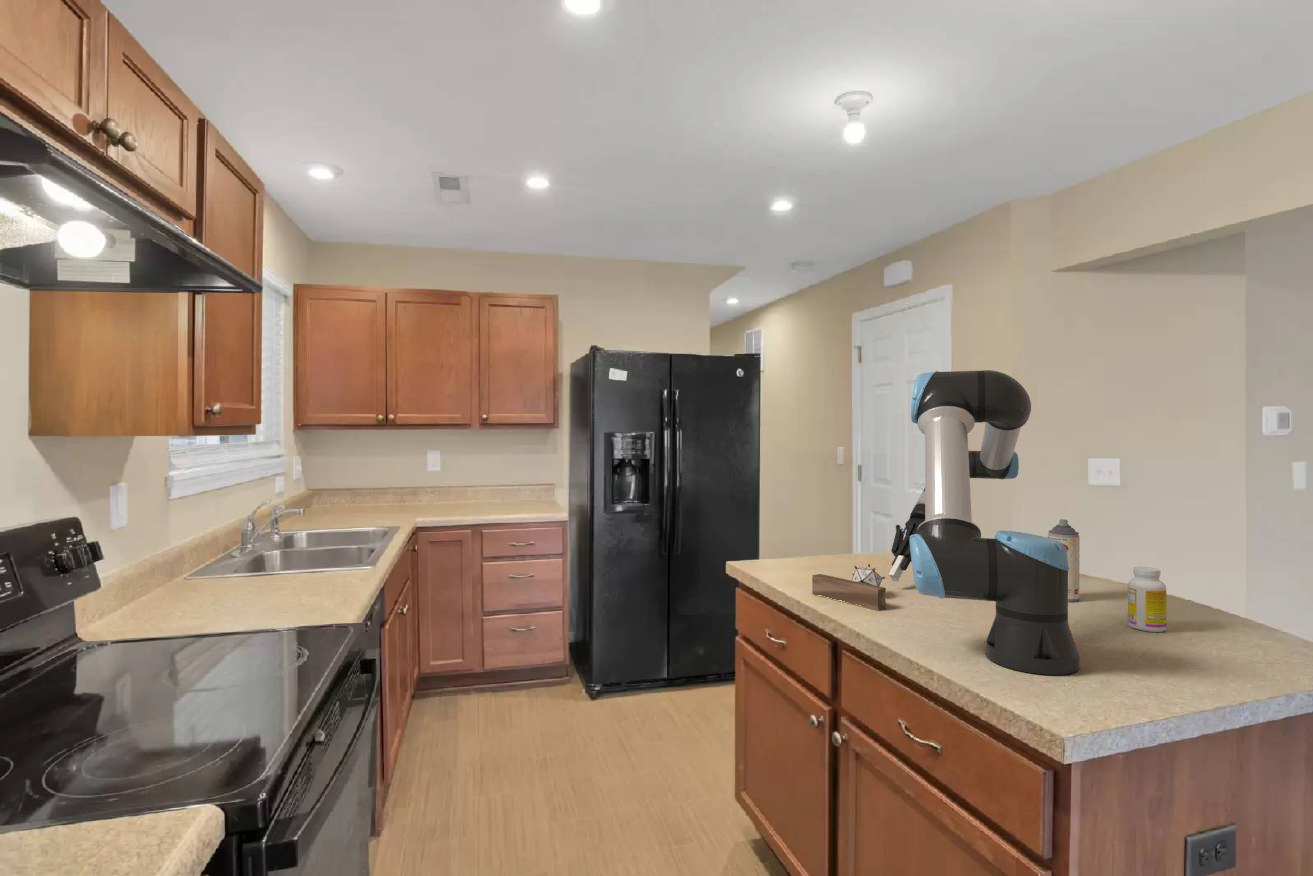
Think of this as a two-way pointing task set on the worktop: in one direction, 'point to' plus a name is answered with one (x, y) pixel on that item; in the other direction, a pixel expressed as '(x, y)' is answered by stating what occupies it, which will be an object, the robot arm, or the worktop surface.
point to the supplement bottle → (1147, 600)
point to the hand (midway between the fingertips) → (893, 577)
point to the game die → (867, 576)
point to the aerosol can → (1069, 555)
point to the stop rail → (849, 591)
